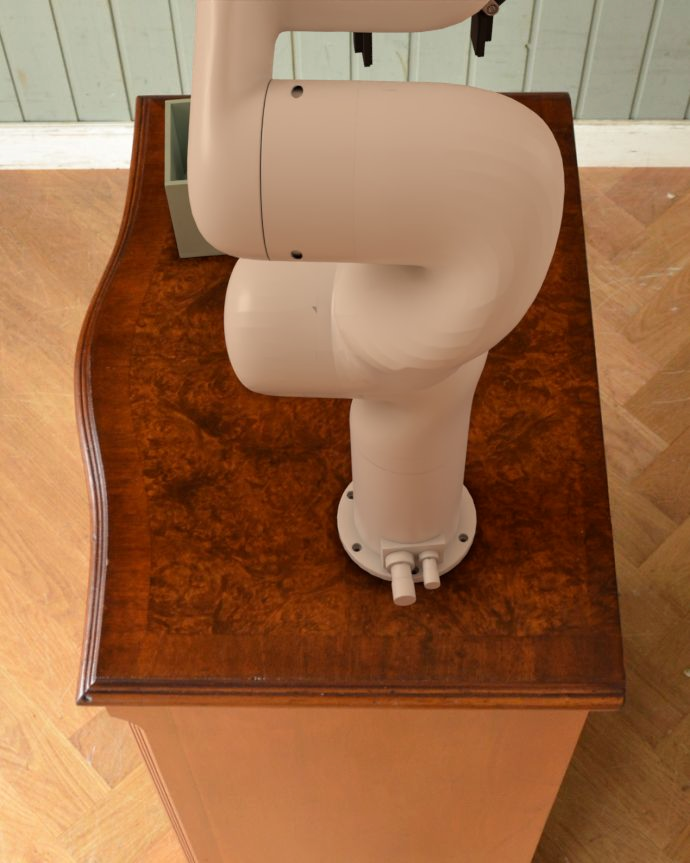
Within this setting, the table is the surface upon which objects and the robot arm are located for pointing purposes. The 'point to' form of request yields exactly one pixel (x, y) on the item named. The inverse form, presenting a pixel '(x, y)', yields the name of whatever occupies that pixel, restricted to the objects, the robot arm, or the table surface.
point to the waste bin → (181, 181)
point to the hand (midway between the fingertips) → (421, 52)
